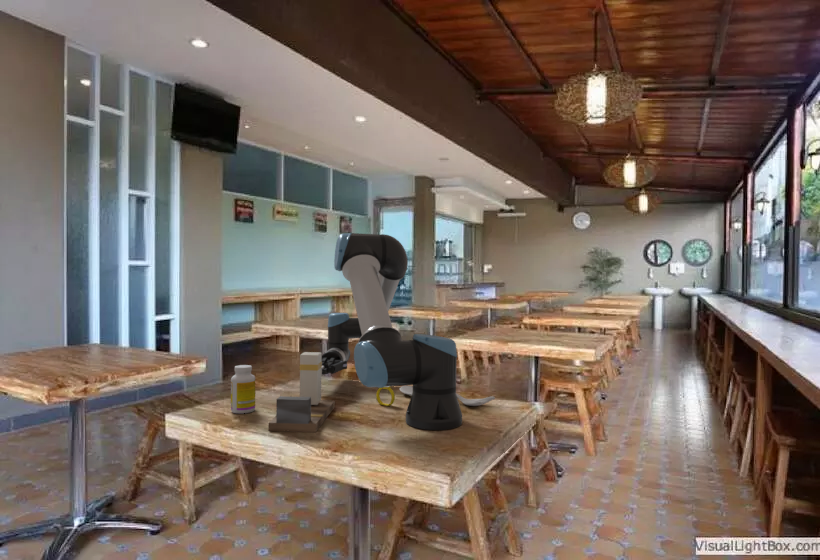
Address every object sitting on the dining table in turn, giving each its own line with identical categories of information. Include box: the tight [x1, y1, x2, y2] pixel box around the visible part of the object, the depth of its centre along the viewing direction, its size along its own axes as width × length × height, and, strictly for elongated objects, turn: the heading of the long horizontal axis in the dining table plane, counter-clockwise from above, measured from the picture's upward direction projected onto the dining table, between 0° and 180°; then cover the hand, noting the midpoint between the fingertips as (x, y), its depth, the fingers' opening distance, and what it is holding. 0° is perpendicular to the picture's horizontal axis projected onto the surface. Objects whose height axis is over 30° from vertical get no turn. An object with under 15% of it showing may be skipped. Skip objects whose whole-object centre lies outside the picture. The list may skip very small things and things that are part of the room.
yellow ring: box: [375, 386, 396, 407], centre depth 157 cm, size 6×3×6 cm, turn 58°
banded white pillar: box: [298, 351, 323, 405], centre depth 149 cm, size 5×5×14 cm
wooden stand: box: [267, 395, 336, 433], centre depth 142 cm, size 24×12×8 cm, turn 177°
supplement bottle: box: [230, 364, 256, 415], centre depth 148 cm, size 7×7×13 cm
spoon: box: [399, 385, 496, 407], centre depth 163 cm, size 9×32×4 cm, turn 53°
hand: (317, 374), depth 157 cm, fingers closed
